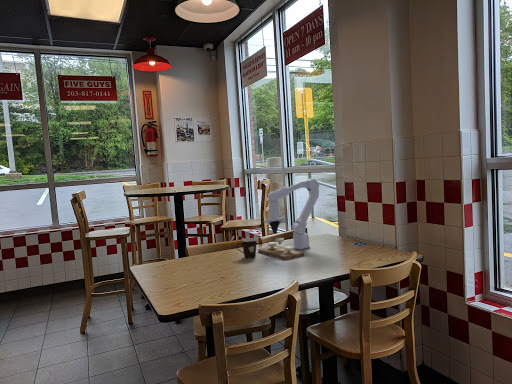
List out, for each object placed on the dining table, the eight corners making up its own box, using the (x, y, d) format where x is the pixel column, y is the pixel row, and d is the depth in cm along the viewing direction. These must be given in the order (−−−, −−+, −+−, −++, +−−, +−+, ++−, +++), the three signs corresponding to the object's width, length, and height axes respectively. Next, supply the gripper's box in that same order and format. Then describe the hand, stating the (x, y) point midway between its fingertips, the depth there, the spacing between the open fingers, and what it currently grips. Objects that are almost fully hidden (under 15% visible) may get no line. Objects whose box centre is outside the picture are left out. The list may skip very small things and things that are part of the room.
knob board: (276, 248, 239) (276, 245, 239) (304, 255, 217) (303, 251, 217) (258, 252, 231) (258, 248, 231) (284, 260, 209) (284, 256, 209)
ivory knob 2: (289, 250, 221) (289, 245, 221) (295, 252, 217) (294, 247, 216) (282, 252, 218) (282, 247, 218) (288, 253, 214) (287, 248, 214)
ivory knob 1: (273, 246, 234) (272, 241, 234) (278, 247, 230) (277, 242, 230) (266, 247, 231) (266, 243, 231) (271, 249, 227) (271, 244, 227)
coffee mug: (258, 254, 225) (257, 238, 224) (256, 258, 216) (255, 241, 215) (238, 255, 226) (237, 238, 225) (236, 259, 217) (235, 241, 216)
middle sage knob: (280, 242, 227) (280, 237, 227) (286, 243, 223) (285, 238, 223) (274, 243, 224) (273, 238, 224) (279, 245, 220) (279, 240, 220)
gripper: (279, 209, 240) (280, 230, 241) (260, 212, 232) (261, 234, 233) (286, 210, 234) (287, 232, 235) (267, 213, 226) (268, 235, 227)
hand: (274, 233), depth 234 cm, fingers closed
